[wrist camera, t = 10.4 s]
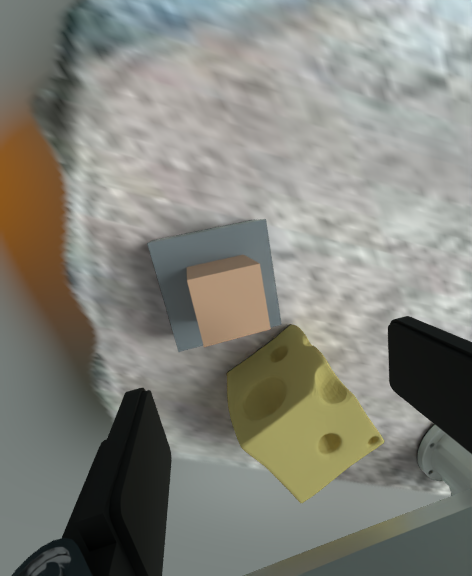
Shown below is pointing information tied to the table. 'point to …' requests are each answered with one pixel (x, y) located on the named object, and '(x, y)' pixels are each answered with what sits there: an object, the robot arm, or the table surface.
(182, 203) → the table surface
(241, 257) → the cube
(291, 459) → the cheese
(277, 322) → the pedestal
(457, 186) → the table surface
